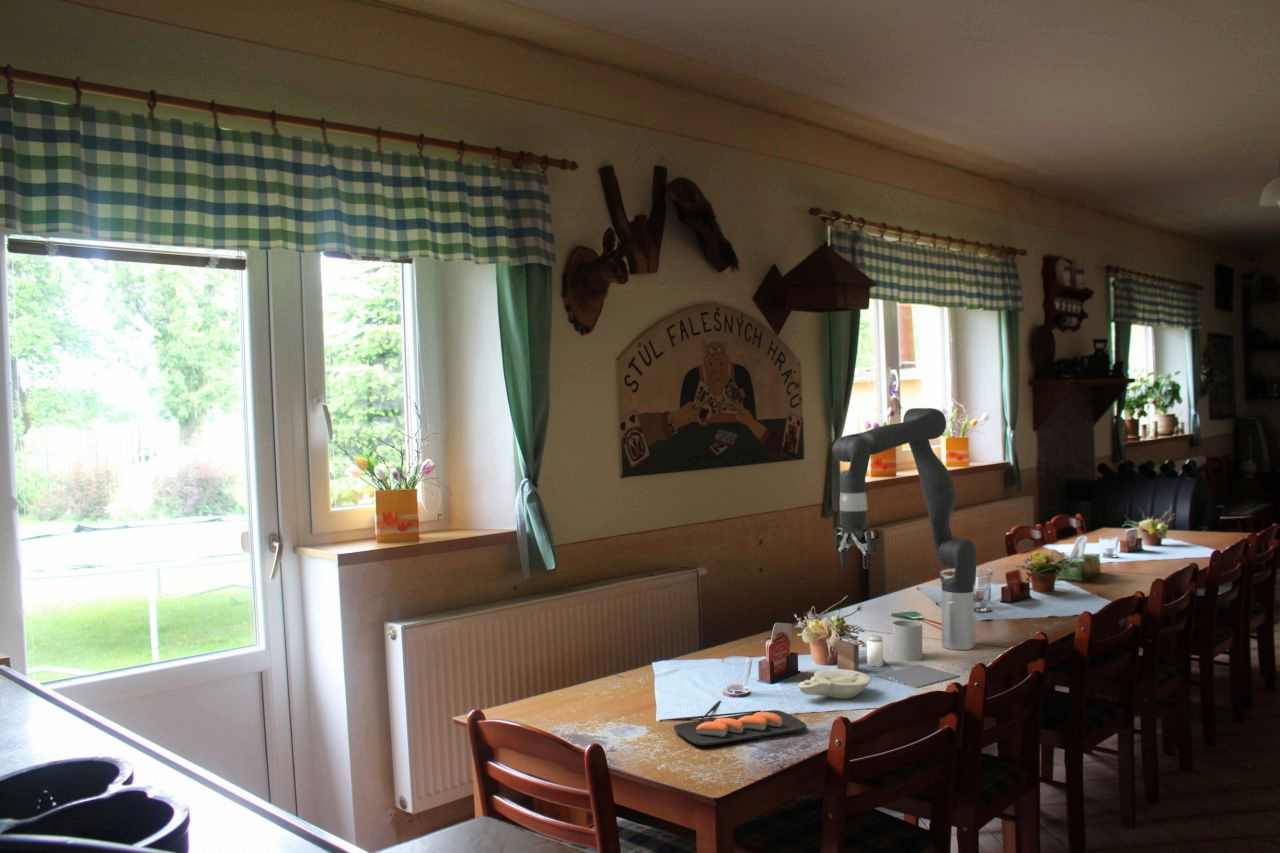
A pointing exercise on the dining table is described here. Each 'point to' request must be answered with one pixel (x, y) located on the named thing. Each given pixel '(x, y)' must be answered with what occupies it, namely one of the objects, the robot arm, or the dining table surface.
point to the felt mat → (918, 675)
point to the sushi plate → (736, 726)
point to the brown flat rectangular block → (848, 655)
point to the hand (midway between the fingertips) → (855, 566)
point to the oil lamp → (835, 683)
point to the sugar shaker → (875, 651)
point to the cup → (907, 640)
